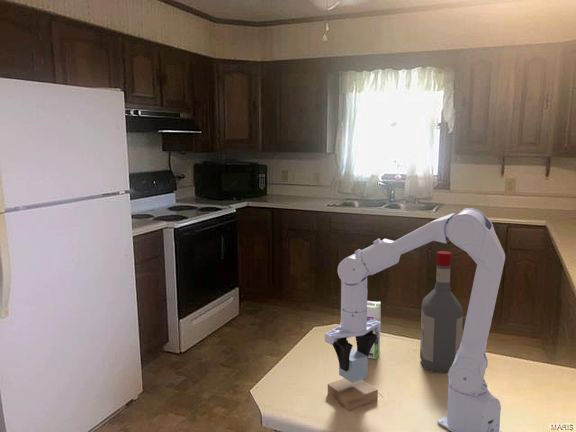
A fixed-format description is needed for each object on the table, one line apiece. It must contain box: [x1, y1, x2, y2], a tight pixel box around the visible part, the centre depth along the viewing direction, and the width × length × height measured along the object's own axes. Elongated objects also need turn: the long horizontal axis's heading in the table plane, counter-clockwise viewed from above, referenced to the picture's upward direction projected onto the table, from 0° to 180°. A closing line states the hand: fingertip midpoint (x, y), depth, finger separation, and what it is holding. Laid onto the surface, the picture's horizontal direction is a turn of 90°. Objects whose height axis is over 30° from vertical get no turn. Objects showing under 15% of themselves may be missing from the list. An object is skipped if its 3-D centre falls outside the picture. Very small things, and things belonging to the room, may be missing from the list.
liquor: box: [419, 250, 464, 374], centre depth 118 cm, size 9×9×30 cm
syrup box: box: [367, 300, 382, 360], centre depth 126 cm, size 6×6×14 cm
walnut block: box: [327, 378, 379, 412], centre depth 105 cm, size 8×8×3 cm
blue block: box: [338, 348, 369, 383], centre depth 104 cm, size 4×4×5 cm
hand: (353, 366), depth 104 cm, fingers closed on blue block, 4 cm apart
